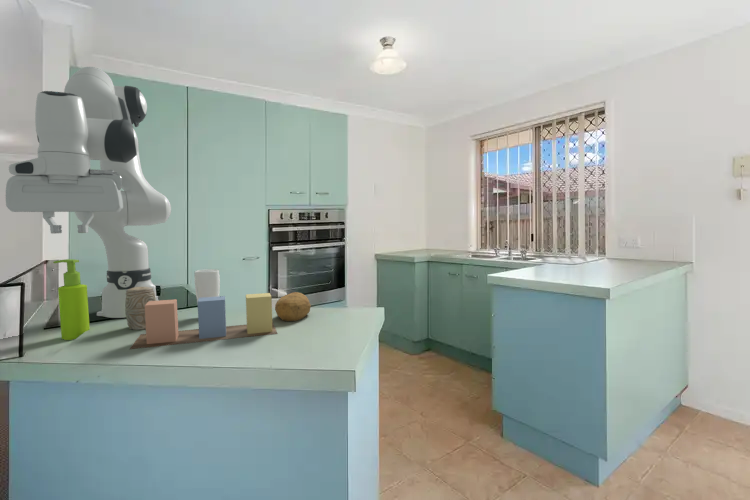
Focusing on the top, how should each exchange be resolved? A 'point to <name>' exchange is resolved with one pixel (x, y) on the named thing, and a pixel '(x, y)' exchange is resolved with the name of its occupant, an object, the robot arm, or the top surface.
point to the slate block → (211, 317)
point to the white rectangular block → (207, 283)
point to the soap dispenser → (73, 303)
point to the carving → (137, 306)
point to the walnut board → (193, 337)
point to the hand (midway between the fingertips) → (69, 233)
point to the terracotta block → (161, 321)
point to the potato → (292, 307)
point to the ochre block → (259, 313)
